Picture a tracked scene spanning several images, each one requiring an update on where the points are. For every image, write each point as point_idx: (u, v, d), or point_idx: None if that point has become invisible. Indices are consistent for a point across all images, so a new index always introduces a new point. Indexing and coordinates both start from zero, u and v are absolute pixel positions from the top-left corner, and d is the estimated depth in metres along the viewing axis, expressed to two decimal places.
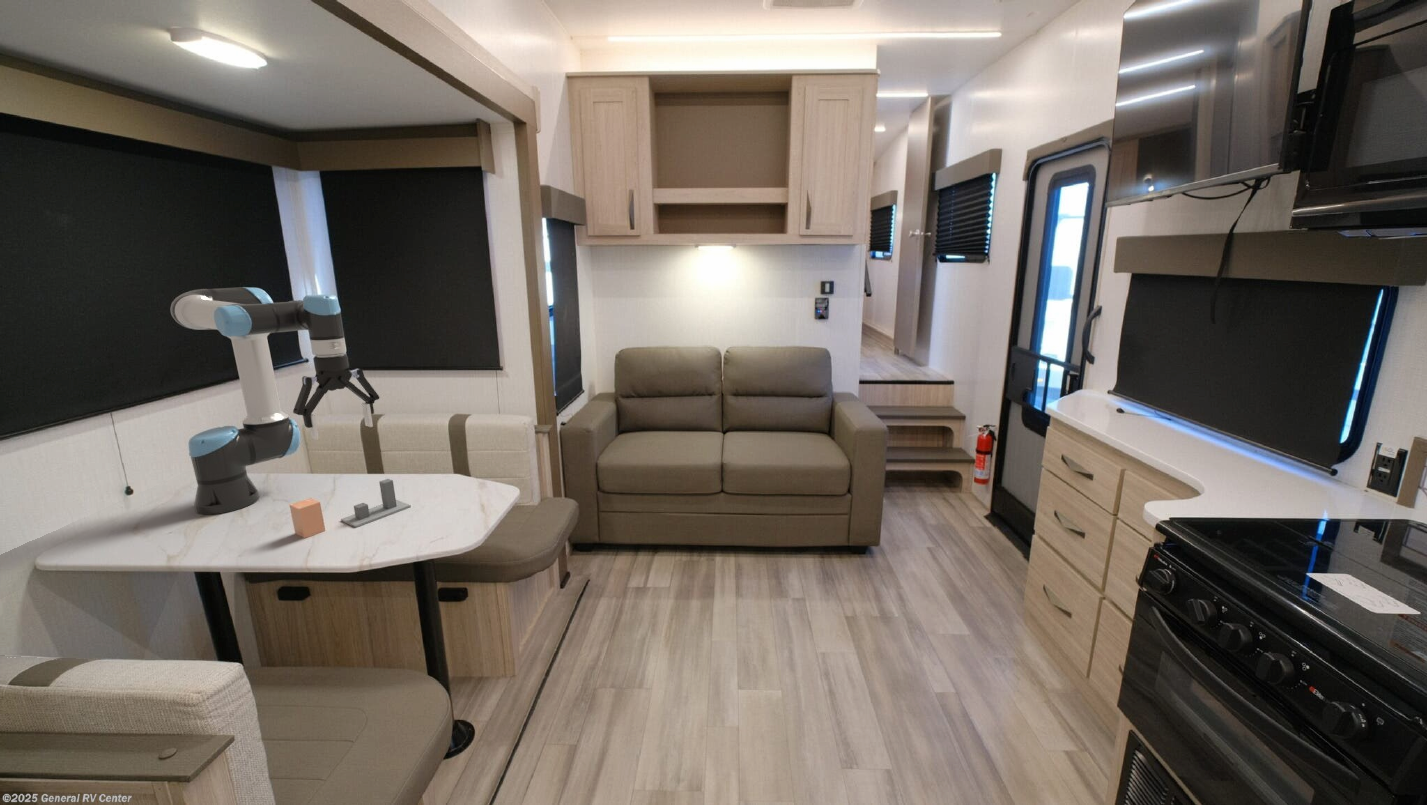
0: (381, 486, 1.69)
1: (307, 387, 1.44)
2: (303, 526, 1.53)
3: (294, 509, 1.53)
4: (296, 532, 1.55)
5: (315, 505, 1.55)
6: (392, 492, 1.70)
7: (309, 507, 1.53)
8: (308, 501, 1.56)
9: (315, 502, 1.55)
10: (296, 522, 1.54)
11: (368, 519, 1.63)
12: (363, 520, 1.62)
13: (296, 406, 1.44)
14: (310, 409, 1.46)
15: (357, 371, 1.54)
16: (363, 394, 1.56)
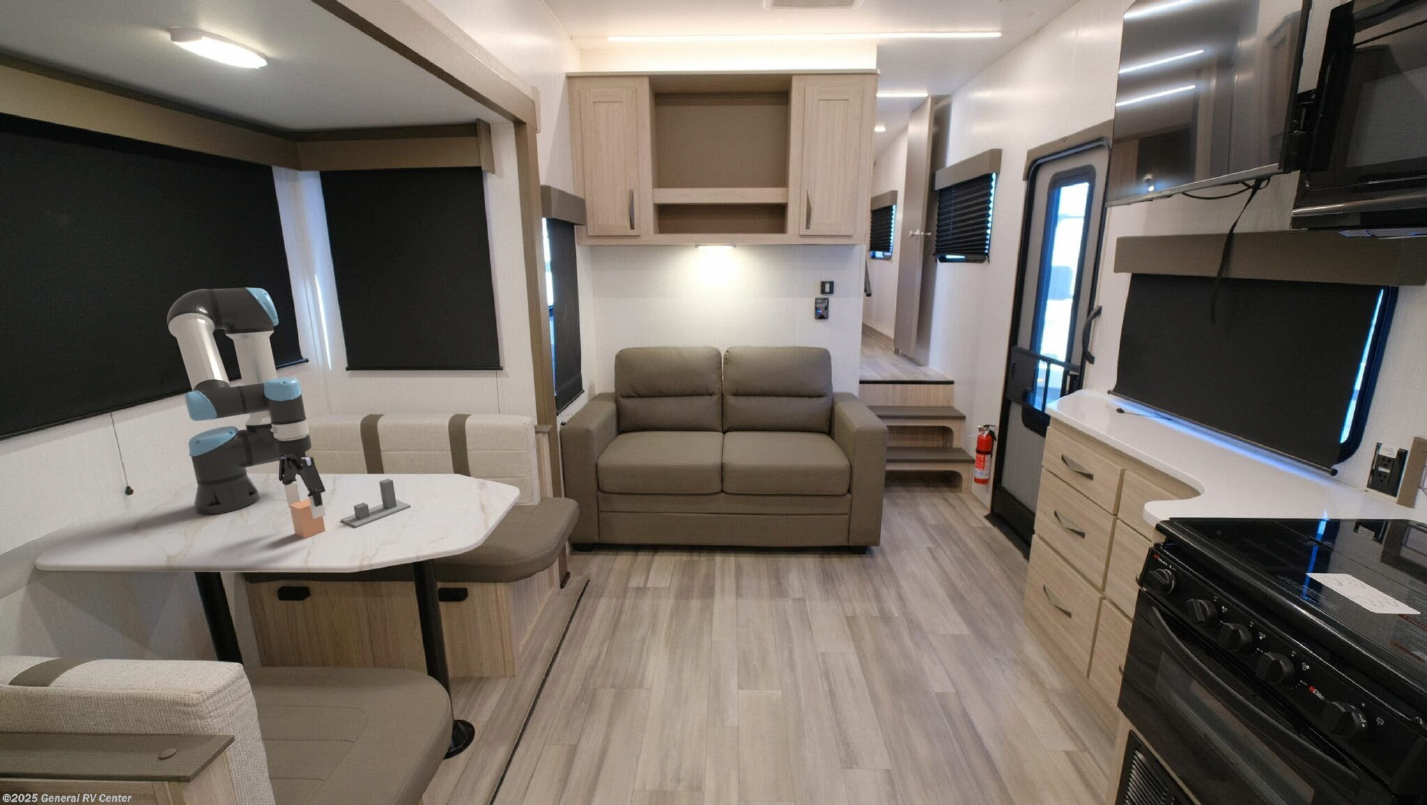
0: (381, 486, 1.69)
1: (280, 460, 1.54)
2: (303, 526, 1.53)
3: (294, 509, 1.53)
4: (296, 532, 1.55)
5: None
6: (392, 492, 1.70)
7: (309, 507, 1.53)
8: (308, 501, 1.56)
9: None
10: (296, 522, 1.54)
11: (368, 519, 1.63)
12: (363, 520, 1.62)
13: None
14: (283, 479, 1.56)
15: None
16: (306, 484, 1.49)
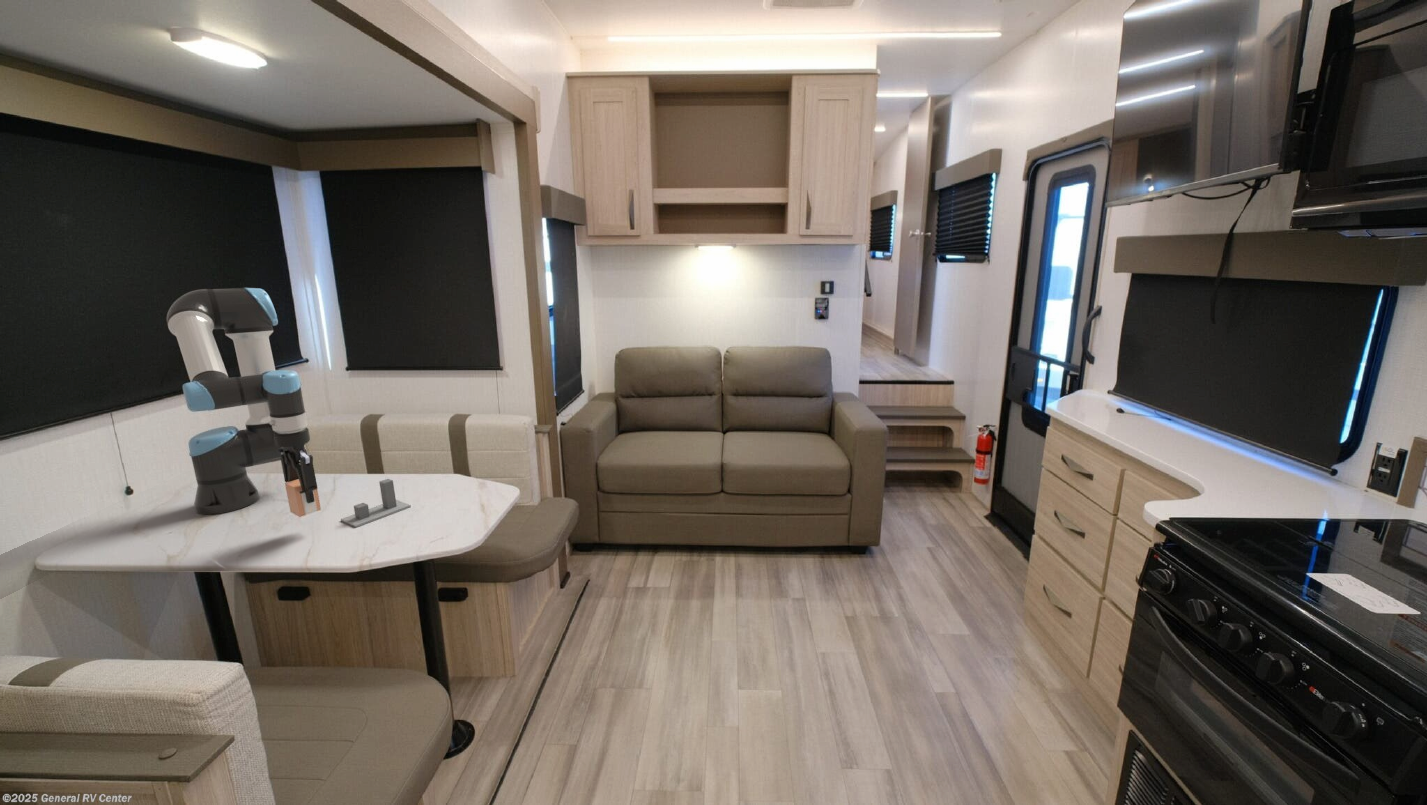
0: (381, 486, 1.69)
1: (280, 457, 1.54)
2: (298, 505, 1.52)
3: (289, 488, 1.52)
4: (291, 511, 1.54)
5: None
6: (392, 492, 1.70)
7: None
8: None
9: None
10: (291, 501, 1.53)
11: (368, 519, 1.63)
12: (363, 520, 1.62)
13: None
14: (288, 480, 1.54)
15: None
16: (300, 480, 1.50)
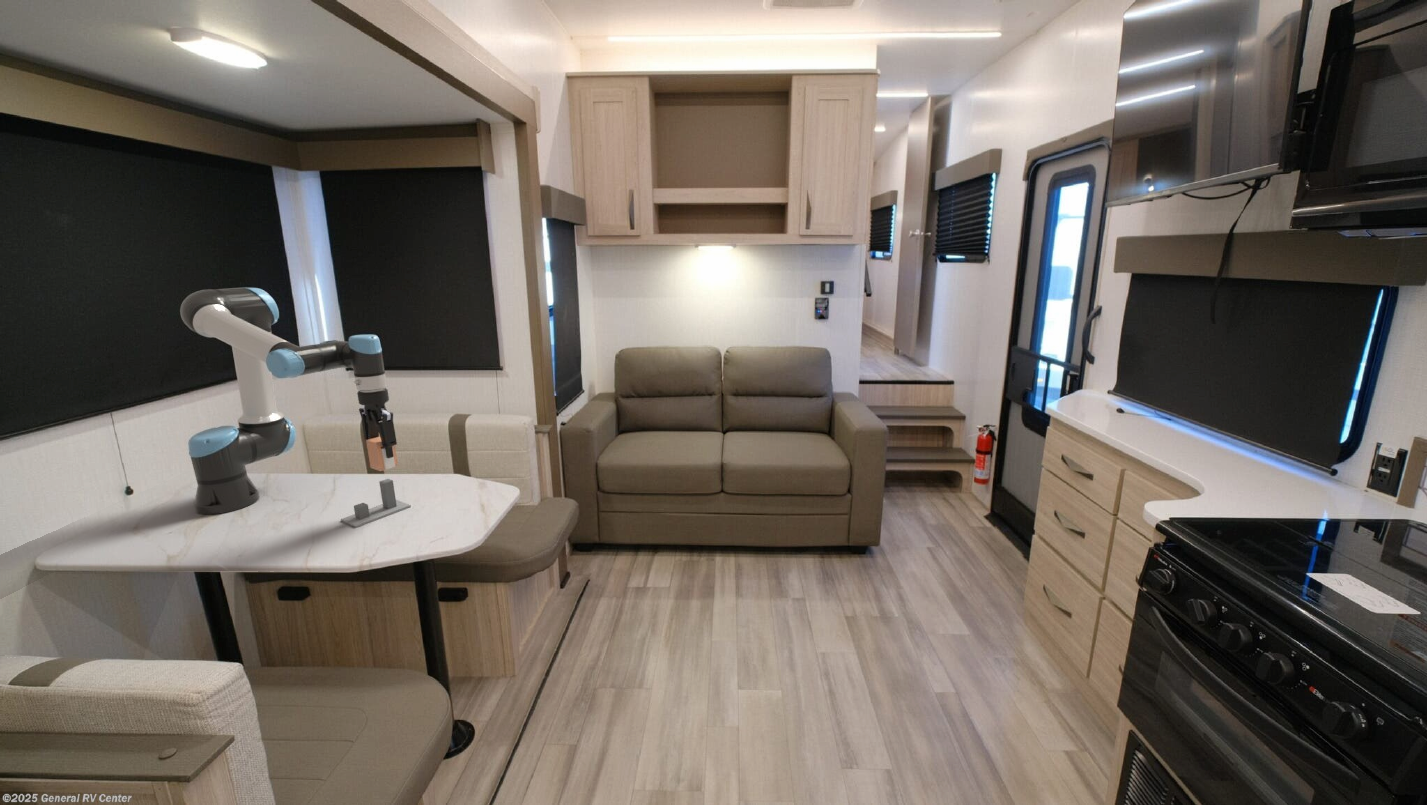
0: (381, 486, 1.69)
1: (361, 417, 1.66)
2: (379, 459, 1.64)
3: (371, 444, 1.64)
4: (372, 466, 1.66)
5: None
6: (392, 492, 1.70)
7: None
8: None
9: None
10: (372, 456, 1.65)
11: (368, 519, 1.63)
12: (363, 520, 1.62)
13: None
14: (369, 438, 1.67)
15: None
16: (381, 436, 1.63)
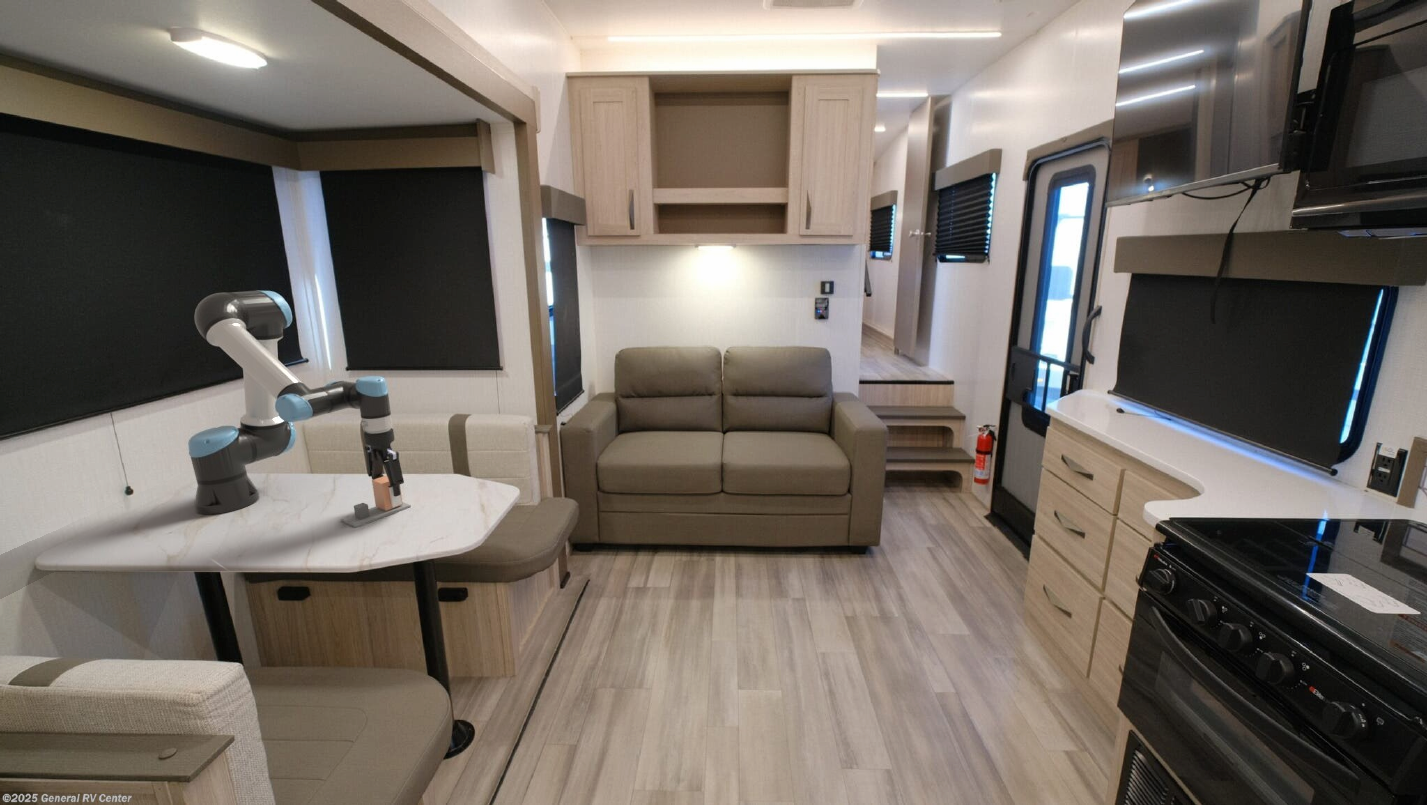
0: None
1: (366, 454, 1.69)
2: (385, 499, 1.67)
3: (376, 484, 1.67)
4: (377, 505, 1.70)
5: None
6: None
7: None
8: None
9: None
10: (378, 496, 1.68)
11: (368, 519, 1.63)
12: (363, 520, 1.62)
13: None
14: (372, 474, 1.70)
15: None
16: (388, 475, 1.65)
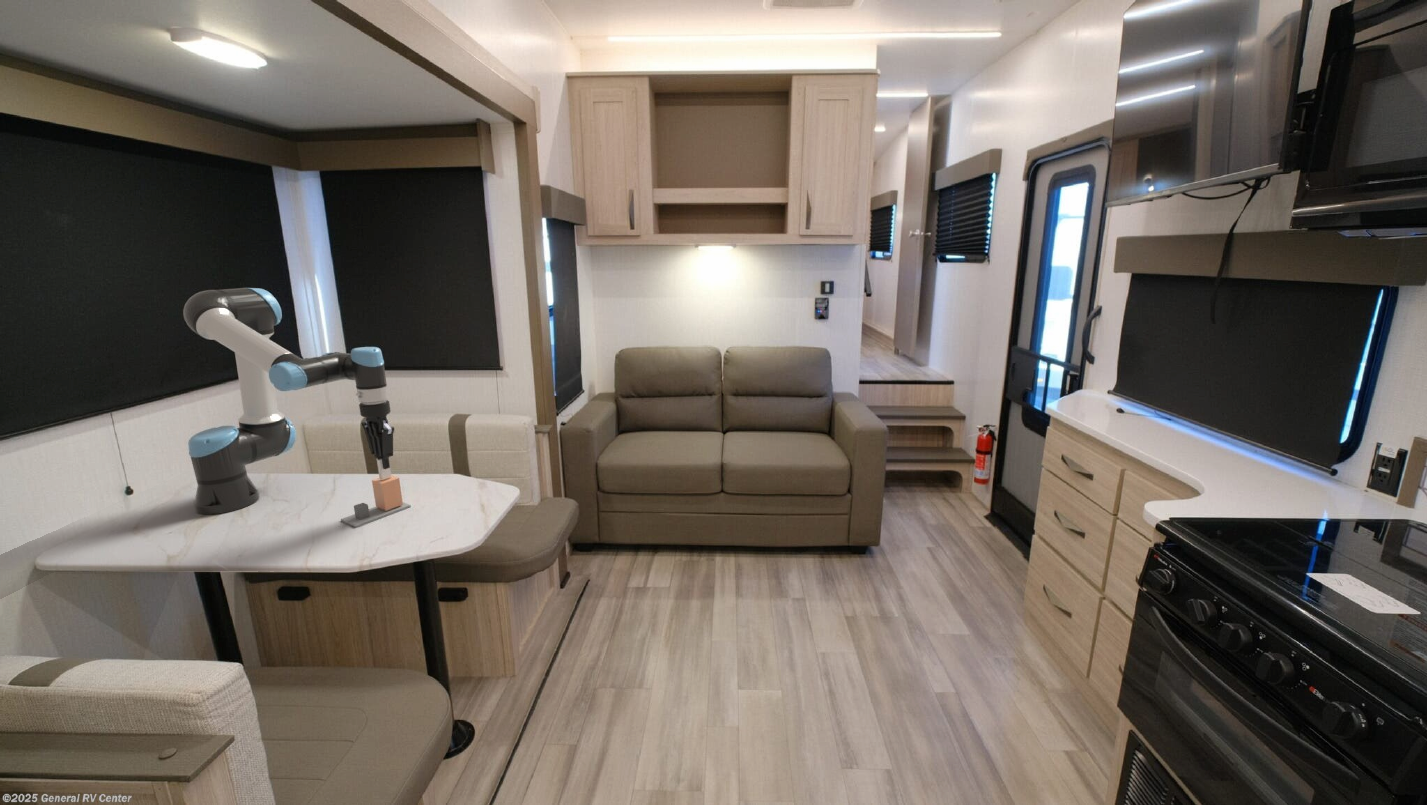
0: None
1: (365, 431, 1.67)
2: (385, 499, 1.67)
3: (376, 484, 1.67)
4: (377, 505, 1.70)
5: (394, 481, 1.69)
6: None
7: (390, 482, 1.68)
8: None
9: (395, 478, 1.70)
10: (378, 496, 1.68)
11: (368, 519, 1.63)
12: (363, 520, 1.62)
13: None
14: (374, 452, 1.67)
15: None
16: (379, 448, 1.65)
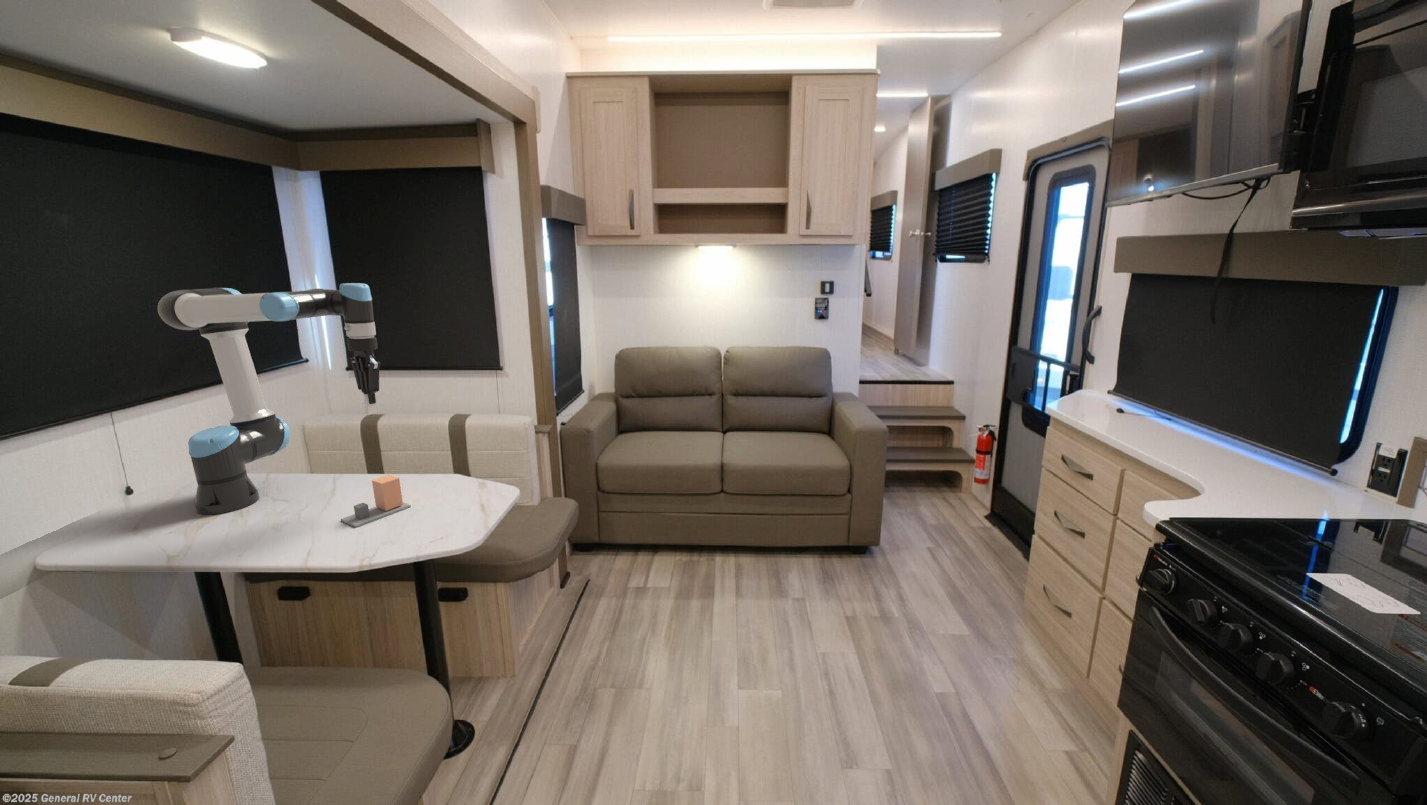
0: None
1: (352, 366, 1.72)
2: (385, 499, 1.67)
3: (376, 484, 1.67)
4: (377, 505, 1.70)
5: (394, 481, 1.69)
6: None
7: (390, 482, 1.68)
8: (388, 477, 1.70)
9: (395, 478, 1.70)
10: (378, 496, 1.68)
11: (368, 519, 1.63)
12: (363, 520, 1.62)
13: None
14: (361, 387, 1.71)
15: None
16: (365, 383, 1.69)
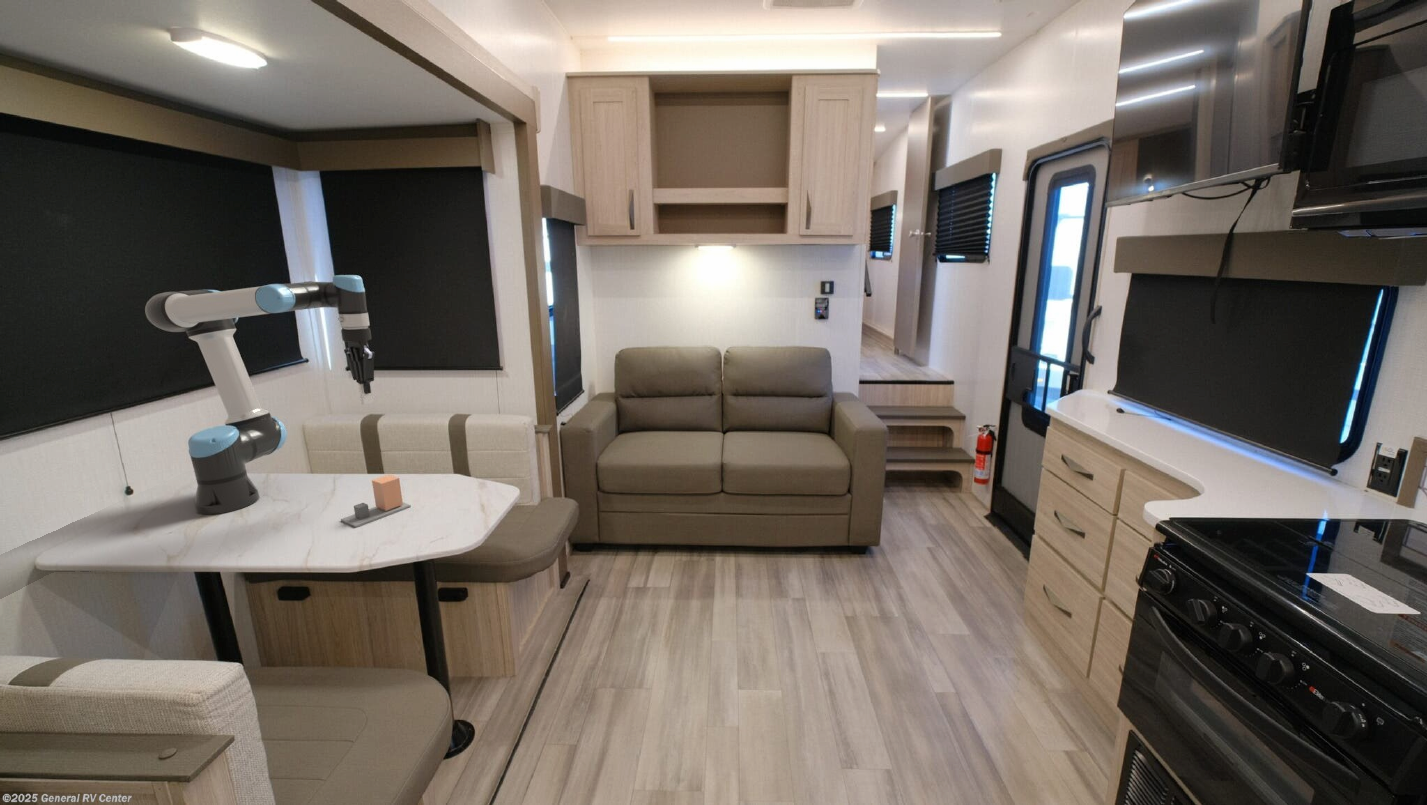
0: None
1: (347, 357, 1.75)
2: (385, 499, 1.67)
3: (376, 484, 1.67)
4: (377, 505, 1.70)
5: (394, 481, 1.69)
6: None
7: (390, 482, 1.68)
8: (388, 477, 1.70)
9: (395, 478, 1.70)
10: (378, 496, 1.68)
11: (368, 519, 1.63)
12: (363, 520, 1.62)
13: None
14: (356, 377, 1.75)
15: None
16: (360, 373, 1.73)
